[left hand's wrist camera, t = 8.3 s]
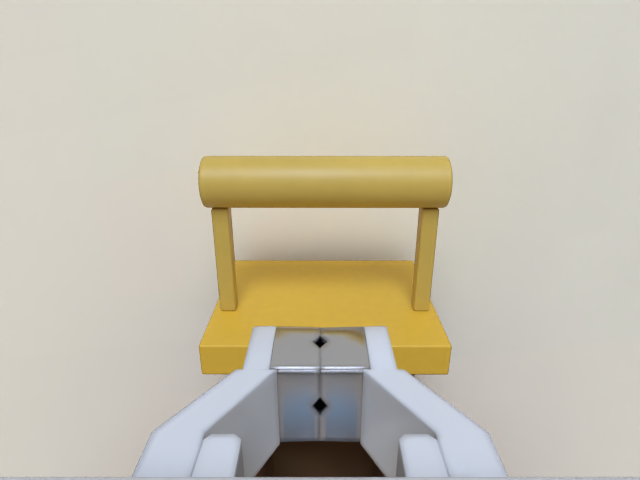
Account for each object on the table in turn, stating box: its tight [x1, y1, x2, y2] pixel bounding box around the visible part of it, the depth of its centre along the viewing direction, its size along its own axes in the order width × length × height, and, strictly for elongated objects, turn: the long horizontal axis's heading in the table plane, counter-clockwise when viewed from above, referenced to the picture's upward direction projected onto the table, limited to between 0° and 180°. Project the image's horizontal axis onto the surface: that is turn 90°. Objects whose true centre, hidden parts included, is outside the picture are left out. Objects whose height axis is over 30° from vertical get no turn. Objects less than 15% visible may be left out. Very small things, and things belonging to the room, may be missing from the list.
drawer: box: [198, 156, 453, 477], centre depth 21 cm, size 23×9×7 cm, turn 0°
